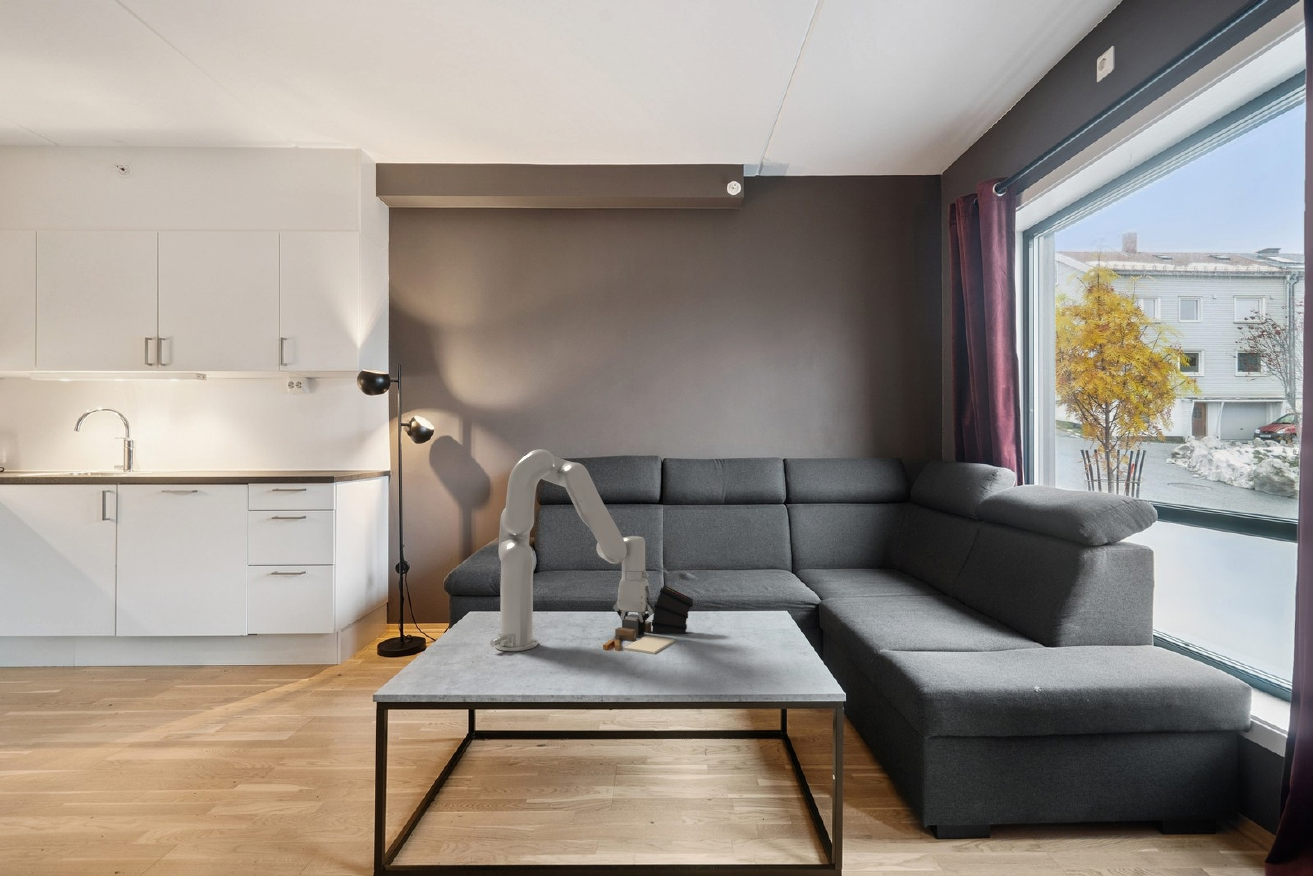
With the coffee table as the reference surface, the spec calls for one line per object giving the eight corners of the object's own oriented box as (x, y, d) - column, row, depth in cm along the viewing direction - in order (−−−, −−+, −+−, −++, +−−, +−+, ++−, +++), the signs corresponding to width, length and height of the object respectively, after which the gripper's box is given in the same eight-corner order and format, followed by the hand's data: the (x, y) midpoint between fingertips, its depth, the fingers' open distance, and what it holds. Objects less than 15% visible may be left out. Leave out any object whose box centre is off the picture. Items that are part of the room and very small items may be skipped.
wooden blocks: (632, 641, 200) (632, 631, 200) (615, 638, 203) (615, 629, 203) (651, 631, 212) (651, 621, 212) (635, 628, 214) (635, 619, 214)
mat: (654, 654, 187) (654, 652, 187) (624, 649, 191) (624, 647, 191) (674, 641, 199) (674, 639, 199) (646, 637, 204) (646, 635, 204)
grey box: (636, 637, 204) (636, 618, 204) (623, 636, 206) (622, 617, 206) (644, 634, 208) (644, 615, 208) (630, 632, 210) (630, 613, 211)
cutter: (619, 650, 191) (619, 645, 191) (602, 650, 191) (602, 645, 191) (625, 639, 202) (625, 635, 202) (609, 639, 202) (609, 634, 202)
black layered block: (643, 625, 212) (662, 584, 212) (679, 643, 211) (699, 602, 211) (642, 628, 208) (662, 586, 208) (679, 646, 208) (699, 604, 208)
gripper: (662, 575, 207) (662, 633, 207) (616, 571, 215) (616, 626, 214) (651, 579, 200) (652, 639, 200) (604, 575, 208) (604, 632, 208)
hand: (633, 632), depth 207 cm, fingers closed on grey box, 5 cm apart
